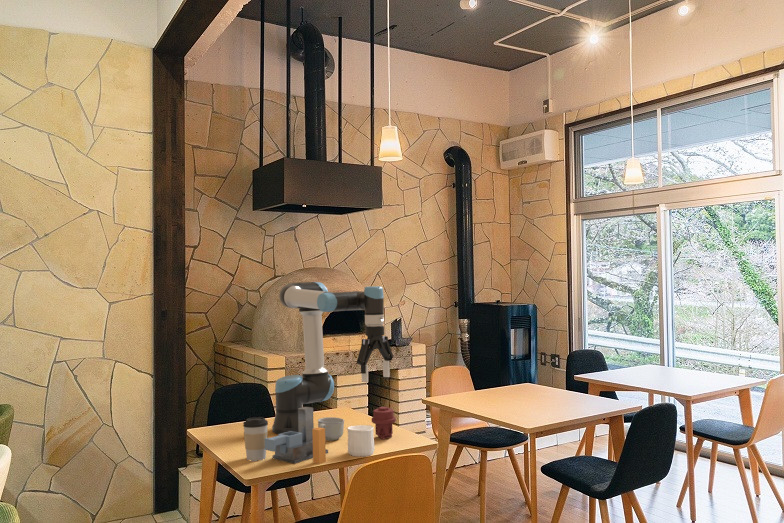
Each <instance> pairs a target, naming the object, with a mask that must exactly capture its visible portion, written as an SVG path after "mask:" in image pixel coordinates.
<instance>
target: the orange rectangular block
mask: <svg viewBox="0 0 784 523" xmlns="http://www.w3.org/2000/svg"><path fill="white" fill-rule="evenodd" d="M312 433H313V458H312V463H313V462H314V464H317V463H318V465H321V464H323V463H326V462H327V458H326V457H327V456H326V440H325V428H320V427H318V426H317V427H314V429H312Z"/></svg>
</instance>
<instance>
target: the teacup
mask: <svg viewBox="0 0 784 523" xmlns="http://www.w3.org/2000/svg"><path fill="white" fill-rule="evenodd" d="M344 425H345V419H344V418H340V417H336V416H335V417H332V416H330V417H328V416H327V417H322V418H318V419H317V428H318V427H320V428H325V441H331V442H332V441H337V440H339V439H340V438H341V437H342V436H343V435H344V428H345V426H344Z"/></svg>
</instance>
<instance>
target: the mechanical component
mask: <svg viewBox="0 0 784 523" xmlns="http://www.w3.org/2000/svg"><path fill="white" fill-rule="evenodd" d="M372 411H373V417H372V418H371V423H372V424H375V425H374V426H375V427H374V428H375V435H376V436H377V437H378V438H380V440H385V439H390V438H392V437H393V432H394V431H393V424H394V423H396V421H397V418H396V416H395V413H394V412H395V410H394V409H393V408H389V407H388V406H379V407H378V408H376V409H373V410H372Z"/></svg>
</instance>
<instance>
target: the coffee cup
mask: <svg viewBox="0 0 784 523" xmlns="http://www.w3.org/2000/svg"><path fill="white" fill-rule="evenodd" d="M268 422H269V421H268V420H267V419H266V418H265V417H263V416H258V417H257V416H255V417H249V418H246V420H245V421H244V422H243V423H242V424H243V425H242V427H243V438H244V447H245V454H246V461H248V460H251V461H250V462H258V461H257V460H261V461H264V460H266V459H267V450H265V438H268V432H269V431H268V425H269V423H268ZM265 458H266V459H265ZM263 459H264V460H263Z"/></svg>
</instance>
